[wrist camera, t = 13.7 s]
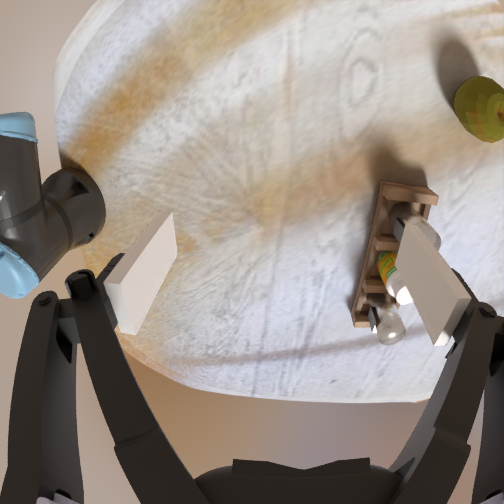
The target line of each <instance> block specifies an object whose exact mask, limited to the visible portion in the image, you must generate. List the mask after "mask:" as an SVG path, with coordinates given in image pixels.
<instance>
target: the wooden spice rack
mask: <svg viewBox="0 0 504 504" xmlns="http://www.w3.org/2000/svg"><path fill="white" fill-rule="evenodd" d="M438 199H439V196H438V195H437V194H435V193H434V192H433V191H432V190H430V189H429V188H427V187H421V186H414V185H407V184H399V183H392V182H384V181H380V186H379V192H378V198H377V203H376V209H375V214H374V219H373V224H372V229H371V234H370V239H369V243H368V248H367V252H366V257H365V261H364V265H363V269H362V273H361V277H360V281H359V285H358V289H357V293H356V296H355V300H354V304H353V307H352V311H351V317H352V321H353V325H354V328H355V327H371V326H370V323H369V320H368V314H369V311H370V308H369V305H368V302H367V297H368V295H369V294H370V293H388V291H387V289H386V287H385V284H384V282H383V280H382V278H381V275H380V273H379V271H378V269H377V266H376V261H377V258H378V256H379V254H380V253H381V252H382V251H383V250H386V251H399V247H400V243H399V242H398V240H397V239H396V237H395V236H394V234H393V233H392V229H393V227H392V225H391V224H390V222H389V218H388V216H389V212H390V209H391V208H392V207H393V206H394V205H395V204H396V203H398V202H408V203H410V204H411V205H412V206H413V207H414V208H415V209H416V210H417V211H418V213H419V214H420V215H421V216H422V217H423V218H424V219H425V220H426V221H427V219H428V215H429V211H430V207H431V205H437V203H438ZM392 298H393V300H394V302H395V305H396V307H397V310H398V309H399V306H400V303H398V302H397V300H396V298H395V297H393V296H392Z"/></svg>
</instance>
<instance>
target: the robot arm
mask: <svg viewBox="0 0 504 504" xmlns="http://www.w3.org/2000/svg"><path fill="white" fill-rule="evenodd" d="M37 143H38V140H37V139H36V131H35V121H34V118H33V116H32V115H31V114H29V113H27V112H16V113H8V114H1V115H0V292H1V293H2V294H4V295H5V296H8V297H10V298H14V299H19V298H23V297H25V296H26V295H27V294H28V293H29V292H30V291H31V290H32V289H33V288H34V287H37V286H38V284H39V282H40V281H41V280H42V279H43V278H44V277H45V276H46V274H47V273H48V272H49V271H50V270H51V269H52V268H53V267H54V266H55V265H56V264H57V262H58V261H59V260H60V259H61V258H62V257H63V256H64V255H65V254H66V253H67V252H68V251H69V250H72V249H75V248H77V247H80V246H83V245H86V244H88V243H89V242H91V241H92V240H93V239H94V238H95V237H96V236H97V235H98V234H99V233H100V232H101V230H102V228H103V226H104V223H105V217H106V211H105V204H104V200H103V197H102V194H101V192H100V190H99V188H98V187H97V185H96V184H95V182H94V181H93V180H92V179H91V178H90V177H89V176H88V175H87V174H85V173H84V172H82V171H80V170H78V169H75V168H64V169H61V170H59V171H57V172H55V173H53V174H52V175H50V176H49V177H48V178H47V179H46V181H45V182H44V183H43V185H42V184H41V177H40V169H39V160H38V150H37ZM176 256H177V246H176V239H175V231H174V223H173V215H172V212H159V213H158V214H157V215H156V216H155V218H154V219H153V220H152V221H151V222H150V224H149V225H148V226H147V227H146V228H145V230H144V231H143V232H142V233H141V234H140V236H139V237H138V238H137V239H136V241H135V242H134V243H133V244H132V246H131V247H130V248H129V249H128V251H127V252H126V253H120V254H118V255H117V256H115V257H114V258H112V259H111V261H110V262H109V263H108V264H107V266H106V267H105V268H104V269H103V271H102V272H101V273H100V274H99V276H98V277H97V278H96V279H95V276H94V273H93V272H92V271H91V270H88V269H82V270H78V271H76V272H73V273H72V274H70V275H69V276H68V277H67V279H66V280H65V286H66V288H67V291H68V293H69V296H70V298H69V299H60V300H59V298H58V296H57V294H56V293H55V292H53V291H45V292H42V293H41V294H39V295H38V296H37V297H36V298H35V299H34V300H33V303H32V305H31V309H30V312H29V316H28V319H27V323H26V327H25V331H24V335H23V339H22V344H21V348H20V352H19V357H18V362H17V367H16V373H15V379H14V386H13V392H12V401H11V409H10V419H9V435H8V467H7V471H6V474H5V478H4V482H3V486H2V490H1V494H0V504H84V490H83V481H82V474H81V466H80V458H79V448H78V437H77V419H76V355H77V343H81V346H82V349H83V353H84V357H85V361H86V364H87V367H88V371H89V374H90V377H91V380H92V383H93V387H94V390H95V393H96V395H97V398H98V401H99V404H100V407H101V409H102V412H103V414H104V417H105V420H106V422H107V425H108V427H109V430H110V432H111V435H112V437H113V439H114V442H115V447H114V450H115V453H116V456H117V458H118V460H119V463H120V465H121V467H122V469H123V471H124V473H125V475H126V477H127V479H128V481H129V483H130V485H131V486H132V488H133V490H134V492H135V494H136V495H137V497H138V499H139V501H140V503H141V504H447V502H448V500H449V498H450V496H451V494H452V492H453V490H454V488H455V486H456V484H457V482H458V480H459V478H460V475H461V473H462V471H463V469H464V466H465V464H466V461H467V459H468V457H469V454H470V450H471V446H470V445H468V444H467V440H468V437H469V434H470V432H471V429H472V426H473V423H474V420H475V417H476V414H477V411H478V408H479V404H480V400H481V397H482V394H483V390H485V391H484V414H483V415H484V416H483V428H482V439H481V446H480V454H479V460H478V466H477V472H476V477H475V482H474V488H473V494H472V502H471V504H504V317H501V316H497V313H496V311H495V310H494V308H493V307H492V306H490V305H489V304H487V303H484V302H479V301H478V300H477V298H476V297H475V295H474V294H473V292H472V291H471V289H470V288H469V287H468V285H467V284H466V282H464V279H463V278H462V277H461V275H460V274H459V273H458V272H456V271H455V270H454V269H453V268H450V267H449V265H448V264H447V263H446V261H445V260H444V259H443V257H442V256H441V255H440V253H439V252H438V251H437V249H436V248H435V247H434V246H433V244H432V243H431V242H430V241H429V239H428V238H427V237H426V236H425V234H424V233H423V232H422V231H421V230H420V228H419V227H418V226H417V225H411V224H405V228H404V232H403V236H402V240H401V244H400V247H399V251H398V255H397V258H396V261H395V267H396V268H397V270H398V272H399V274H400V276H401V278H402V280H403V282H404V284H405V285H406V287H407V289H408V291H409V293H410V295H411V297H412V299H413V301H414V303H415V306H416V308H417V310H418V312H419V314H420V316H421V318H422V320H423V322H424V325H425V327H426V329H427V331H428V334H429V336H430V338H431V340H432V343H433V345H434V346H439V345H447V343H448V342H449V340H450V338H451V336H453V338H454V340H455V342H454V344H453V346H452V347H451V349H450V350H449V352H448V354H447V355H446V357H445V358H446V359H447V361H446V363H445V366H444V368H443V371H442V373H441V375H440V378H439V380H438V382H437V385H436V387H435V389H434V391H433V394H432V396H431V398H430V400H429V402H428V404H427V406H426V408H425V410H424V412H423V414H422V416H421V418H420V420H419V422H418V424H417V425H416V427H415V429H414V431H413V433H412V435H411V437H410V438H409V440H408V441H407V443H406V445H405V447H404V448H403V450H402V452H401V453H400V455H399V456H398V458H397V459H396V461H395V462H394V463H393V464H392V465H391V466H390V467H389V469H388V470H387V469H385V468H382V467H379V466H375V465H370V459H369V457H368V458H359V459H349V460H338V461H335V462H331V463H328V464H325V465H321V466H318V467H314V468H310V469H305V470H302V469H296V468H292V467H288V466H284V465H280V464H276V463H272V462H268V461H252V460H238V459H233V465H232V466H226V467H221V468H217V469H214V470H211V471H208V472H206V473H204V474H202V475H200V476H199V477H197V478H195V479H193V478H192V476H191V475H190V473H189V472H188V470H187V469H186V467H185V466H184V464H183V463H182V461H181V460H180V458H179V457H178V455H177V453H176V452H175V450H174V449H173V447H172V445H171V444H170V442H169V441H168V439H167V437H166V435H165V434H164V432H163V430H162V428H161V427H160V425H159V423H158V422H157V420H156V418H155V416H154V414H153V412H152V410H151V409H150V407H149V405H148V403H147V401H146V399H145V397H144V395H143V393H142V391H141V389H140V387H139V385H138V383H137V381H136V379H135V377H134V375H133V372H132V371H131V368H130V366H129V364H128V362H127V359H126V357H125V355H124V353H123V350H122V348H121V345H120V343H119V341H118V338H117V336H116V333H115V331H114V329H115V327H116V325H117V323H118V325H119V328H120V330H121V333H127V334H133V335H137V333H138V331H139V329H140V327H141V324H142V322H143V320H144V318H145V316H146V314H147V312H148V310H149V308H150V306H151V304H152V302H153V300H154V298H155V296H156V294H157V292H158V290H159V289H160V287H161V285H162V283H163V281H164V279H165V277H166V275H167V273H168V271H169V269H170V268H171V266H172V264H173V262H174V260H175V258H176Z"/></svg>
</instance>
